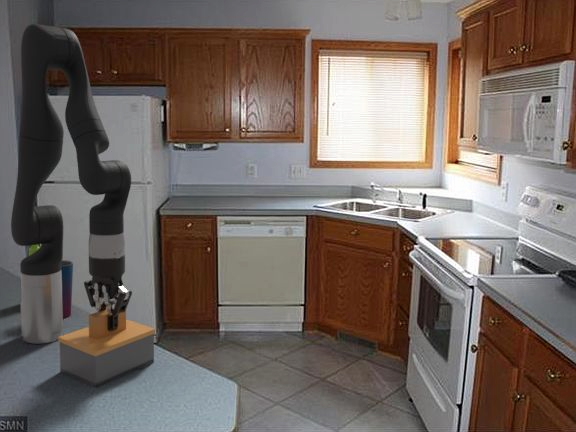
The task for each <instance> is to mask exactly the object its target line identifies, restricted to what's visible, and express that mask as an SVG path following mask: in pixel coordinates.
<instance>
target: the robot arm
mask: <svg viewBox="0 0 576 432" xmlns="http://www.w3.org/2000/svg"><path fill="white" fill-rule="evenodd" d="M20 55H21V56H20V63H21V64H20V65H21V108H20V109H21V112H20V113H21V114H20V125H19V135H18V153H17V157H18V158H17V159H18V161H17V177H16V186H15V191H14V192H15V193H14V198H13V204H12V205H13V206H12V212H11V218H10V219H11V221H10V222H11V223H10V231H11V232H10V233H11V237H12V239H13V241H14V243H15V244H16V245H18V246H20V247H21V246H22V247H26V246H27V247H28V246H32V245H37V244H38V245H40V246H39V247H40V248H39V249H38V250H37V251H36V252H34V253H33V254H31V255H30V256H29V255H28V256H26V257H24V258H23V259H22V260H20V261H21V262H20V264H19V266H20V267H19V268H20V284H21V285H20V287H21V299H20V324H21V337H22V340H23V341H24V342H25V343H27V344H28V343H29V344H34V345H35V344H37V345H38V344H48V343H52V342H56V341H57V340H58V337H60V336H63V335H64V325H63V324H64V321H63V320H64V318H63V308H62V273H61V263H62V260H63V256H64V255H63V254H64V253H63V251H64V250H63V249H64V219H63V216H62V212H61V210H60V209H59V207H57V206H56V205H38V206H35V205H36V200H37V197H38V195H39V192H40V190H41V188H42V187H43V185H44V183H46V181H47V180H48V178H49V177H50V176H51V175H52V173H53V172H54V171H55V169H56V168H57V166H58V165H59V163H60V162H61V159H62V154H63V147H64V146H63V145H64V133H65V131H64V127H63V124H62V123H63V122H62V121H61V119H60V117H59V114H58V113H57V111H56V109H55V108H54V106H53V104H52V102H51V100H50V97H49V95H48V91H47V73H48V72H47V71H62V73H63V74H64V76H65V78H66V80H67V83H68V88H69V89H68V90H69V91H68V95H67V96H68V97H67V100H66V101H67V102H66V106H65V113H64V117H65V123H66V124H65V125H66V128H67V130H68V132H69V136H70V138H71V140H72V143H73V145H74V148H75V152H76V153H75V154H76V162H77V170H78V171H77V172H78V180H79V183H80V185H81V188H83V189H84V190H85V191H86V193H88V194H89V195H93V196H99V195H104V197H103V199H102V201H101V202H100V203H98V204H95V205H94V206H91V208H90V209H89V215H88V217H89V218H88V220H89V221H88V222H89V225H88V228H89V237H88V273H89V275H90V276H91V279H89V280H86V281H84V282H83V286H84V288H85V292H86V295H87V299H88V302H89V305H90V307H91V308H94V309H95V311H96V312H100V311H103V310H106V309H107V311H108V331H110V332H111V331H114V330H117V328H118V314H119V313H123V312H125V311H126V312H127V308H128V305H129V303H130V300H131V297H132V295H133V292H132V290H131V289H128V290H127V289H126V288H125V287H124V282H123V279H122V277H123V275H124V274H125V272H126V241H125V233H124V230H125V229H124V228H125V226H124V223H125V220H124V215H125V214H124V213H125V210H126V206H127V203H128V199H129V195H130V191H131V188H132V186H131V185H132V175H131V171H130V169H129V167H128V165H127V164H126V163H125V162H124V161H121V160H117V159H116V160H115V159H113V160H101V159H100V157H99V155H101V154H103V153H104V152H106V151H107V150H108V149H109V148H110V139H109V137H108V134H107V132H106V130H105V127H104V124H103V122H102V119H101V117H100V115H99V112H98V110H97V107H96V104H95V100H94V97H93V92H92V88H91V84H90V78H89V73H88V70H87V65H86V63H85V62H86V60H85V57H84V52H83V49H82V46H81V43H80V41H79V38H78V36H77V35H76V34H75V32H74V31H72V30H71V29H69V28H65V27H59V26H52V25H44V24H38V23H35V24H34V23H33V24H29V25H27V27H25V29H24V31H23V34H22V37H21V45H20ZM113 305H114V306H113ZM112 307H114V309H113V308H112Z"/></svg>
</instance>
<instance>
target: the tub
mask: <svg viewBox="0 0 576 432" xmlns="http://www.w3.org/2000/svg"><path fill="white" fill-rule="evenodd" d="M59 361H60V362H59V363H60V364H59V365H60V368H59V369H60V373H62V374H65V375H67V376H70V377H72V378H74V379H75V380H77V381H79V382H82V383H85V384H87V385H89V386H91V387H94V388H98V387H101V386H103V385H105V384H108V383H110V382H112V381H114V380H117V379H119V378H121V377H124V376H125V375H128V374H130V373H133V372H134V371H137V370H139V369H141V368H144V367H147V366H148V365H151V364H153V363H154V362H155V333H154V334H152V335H149V336H147V337H144V338H142V339H139V340H136V341H134V342H131V343H129V344H126V345H123V346H121V347H118V348H116V349H113V350H111V351H108V352H105V353H103V354H100V355H98V356H93V355H90V354H88V353H85V352H83V351H81V350H78V349H76V348H73V347H71V346H68V345H66V344H63V343H61V342H59Z"/></svg>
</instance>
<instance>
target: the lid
mask: <svg viewBox="0 0 576 432" xmlns="http://www.w3.org/2000/svg"><path fill="white" fill-rule="evenodd" d="M112 308H113V309H114V306H112ZM152 334H154V335H155V334H156V328H153V327H151V326H147V325H144V324H141V323H139V322H135V321H132V320H129V319H127V310H126V311H125V312H123V313H119V314H118V328H117V330H114V331H111V332H110V331H108V311H107V309H106V310H103V311H100V312H97V311H96V312H94V313H90V314H88V327H87V326H86V327H84V328H81V329H78V330H75V331H72V332H69V333H66V334H63V336H60V337H58V343H60V342H61V343H63V344H66V345H68V346H71V347H73V348H76V349H78V350H81V351H83V352H85V353H88V354H90V355H93V356H98V355H100V354H103V353H105V352H108V351H111V350H113V349H116V348H118V347H121V346H123V345H126V344H129V343H131V342H134V341H136V340H139V339H142V338H144V337H147V336H149V335H152Z"/></svg>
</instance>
